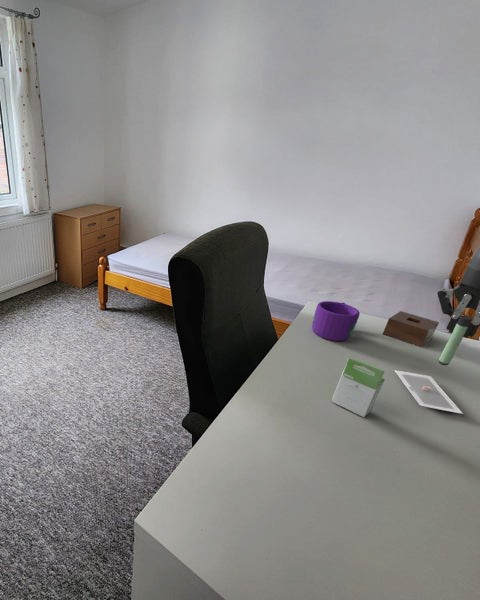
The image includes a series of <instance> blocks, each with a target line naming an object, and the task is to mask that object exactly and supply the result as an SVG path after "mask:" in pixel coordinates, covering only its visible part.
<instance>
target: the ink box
mask: <svg viewBox="0 0 480 600" xmlns="http://www.w3.org/2000/svg"><path fill="white" fill-rule="evenodd" d="M360 367H363V368H365V369H367V370H369V371H371V372H369V371H367V370H364V369H362V368H360ZM372 372H373V373H372ZM384 374H385V370H383V369H380V368H378V367H375V366H372V365H370V364H368V363H365V362H362V361H359V360H357V359H354V358H351V357H348V358H347V360H346V364H345V366H344V369H343V370H342V372H341V375H340V377H339V380H338V383H337V385H336V388H335V391H334V392H333V396H332V399H331V403H334V404H336V405H338V406H339V407H342V408H344V409H346V410H348V411H350V412H352V413H354V414H355V415H358V416H359V417H362V418H365V417H366V416H367V415H368V414H370V412H371V410H372V409H373V406H374V404H375V401H376V399H377V398H378V396H379V393H380V391H381V389H382V386H383V384H384V382H385V380H386V379H385V378H383V376H384Z"/></svg>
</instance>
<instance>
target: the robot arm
mask: <svg viewBox="0 0 480 600" xmlns="http://www.w3.org/2000/svg"><path fill="white" fill-rule="evenodd" d="M436 294H437V297H438V302H439V304H440V309H441V311H442V314H443V315H447V316H449V317H450V320H449V322H448V323H447V325H446V330H447V331H448V333H449V334H452V332H453V330H454V328H455V326H456V324H457V322H458V320H459V318H460V316H463V315H464V313H465V311H466V309H473V310H474V311H475V312H474V316H473V318H472V321H471V323H470V325H469V327H468V329H467V330H466V332H465V334H464V336H463V338H466V339H468V338H469V337H470V338H472V337H474V336H475V335H476V334H477V331H478V330H479V328H480V245H478V247H477V248H476V250H475V252H474V253H473V255H472V257H471V259H470V260H469V262H468V265H467V267H466V269H465V271H464V273H463V275H462V278H461V279H460V282H458V285H456V286H454V288H448V289H446V288H442V289H440V290H438V291H437V293H436ZM453 295H454V297H455V299H456V301H457V303H458V304H457V306H456V308H455V309H454V308H453V306H452V302H451V298H452V297H453Z"/></svg>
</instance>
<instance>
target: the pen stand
mask: <svg viewBox="0 0 480 600" xmlns="http://www.w3.org/2000/svg"><path fill="white" fill-rule="evenodd" d="M439 324H440V322H439V321H436V320H433V319H430V318H427V317H422V316H420V315H415V314H412V313H409V312H406V311H402V310H400V311H398V312H396V313H395V314H393V315H392V316H390V317H389V318H388V319H387V322H386V325H385V327H384V329H383V332H382V335H383V336H386V337H390V338H393V339H396V340H398V339H399V340H398V341H401V340H402V341H401V342H404V343H407V344H409V345H413V344H414V345H413V346H416V347H418V346H419V348H422V347H423V346H424V345H426V344H427V343H428V342H429V341H430V340H431V339H432V338H433V336H434V334H435V332H436V330H437V328H438V326H439ZM428 340H429V341H428ZM427 341H428V342H427ZM421 346H422V347H421Z"/></svg>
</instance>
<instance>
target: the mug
mask: <svg viewBox="0 0 480 600" xmlns="http://www.w3.org/2000/svg"><path fill="white" fill-rule="evenodd" d="M360 315H361V314H360V311H359V310H358V308H356V307H354V306H352V305H349V304H346V303H345V302H338V301H332V300H325V301H320V302H319V303H317V304H316V308H315V311H314V315H313V320H312V324H311V329H312V332H313V333H314V334H315V335H317V336H318V337H320V338H322V339H325V340H328V341H332V342H343V341H346V340H348V339H349V338H350V337H351V336H352V334H353V332H354V330H355V328H356V326H357V323H358V320H359V317H360Z"/></svg>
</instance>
